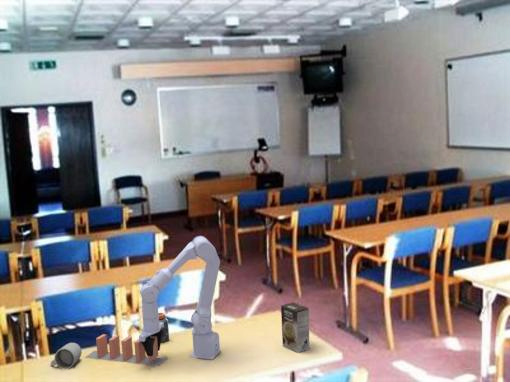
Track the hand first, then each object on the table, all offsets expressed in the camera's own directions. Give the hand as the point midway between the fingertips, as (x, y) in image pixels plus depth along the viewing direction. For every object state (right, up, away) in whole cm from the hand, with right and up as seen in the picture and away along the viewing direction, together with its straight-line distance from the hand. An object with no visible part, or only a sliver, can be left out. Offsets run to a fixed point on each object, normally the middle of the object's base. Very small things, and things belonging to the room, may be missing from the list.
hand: (153, 353), depth 212 cm
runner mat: (-11, -3, +5) cm, 12 cm away
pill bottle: (0, -1, +20) cm, 20 cm away
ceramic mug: (-33, -5, +2) cm, 33 cm away
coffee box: (+53, 0, +7) cm, 53 cm away
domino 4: (-5, -3, +2) cm, 6 cm away
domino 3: (-10, -3, +4) cm, 11 cm away
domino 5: (0, -2, 0) cm, 2 cm away
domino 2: (-15, -3, +6) cm, 17 cm away
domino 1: (-20, -3, +8) cm, 22 cm away
